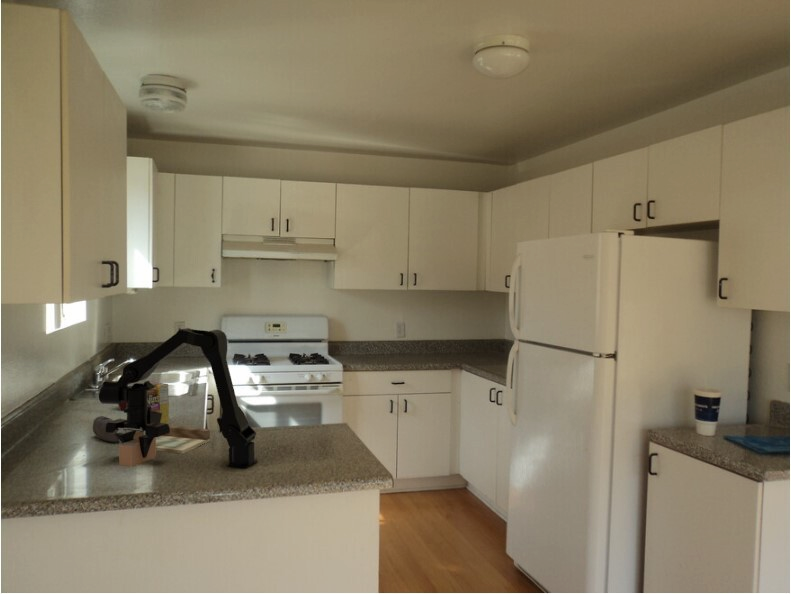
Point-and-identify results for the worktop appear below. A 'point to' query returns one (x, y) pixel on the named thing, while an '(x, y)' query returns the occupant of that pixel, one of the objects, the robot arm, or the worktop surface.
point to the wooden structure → (180, 439)
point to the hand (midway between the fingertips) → (137, 456)
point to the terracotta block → (134, 452)
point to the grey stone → (103, 429)
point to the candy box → (159, 400)
